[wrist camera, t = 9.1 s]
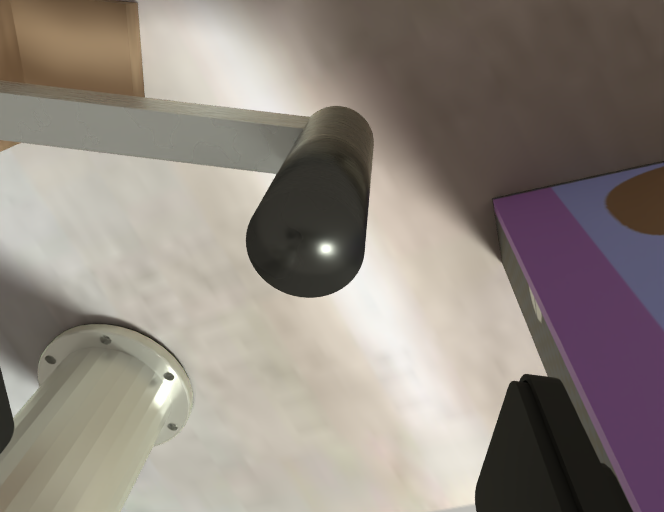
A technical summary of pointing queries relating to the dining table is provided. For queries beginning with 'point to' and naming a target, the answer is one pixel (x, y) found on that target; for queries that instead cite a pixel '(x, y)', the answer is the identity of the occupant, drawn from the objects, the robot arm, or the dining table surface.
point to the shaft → (231, 152)
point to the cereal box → (598, 309)
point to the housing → (71, 46)
